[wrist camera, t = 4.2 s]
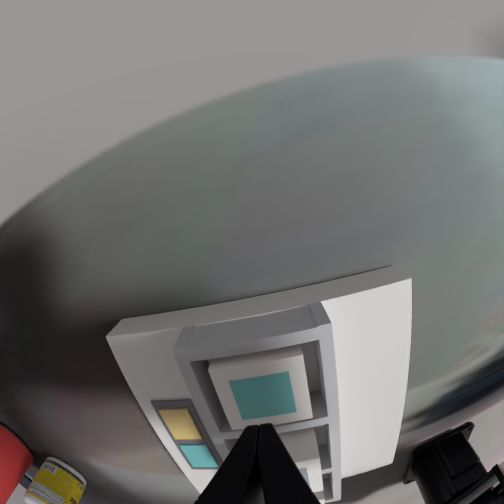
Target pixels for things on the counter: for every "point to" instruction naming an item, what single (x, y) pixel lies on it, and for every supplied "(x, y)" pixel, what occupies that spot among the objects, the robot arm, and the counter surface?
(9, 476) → the beer can
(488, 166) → the counter surface
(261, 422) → the key
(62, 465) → the supplement bottle
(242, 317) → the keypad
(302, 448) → the key mid
